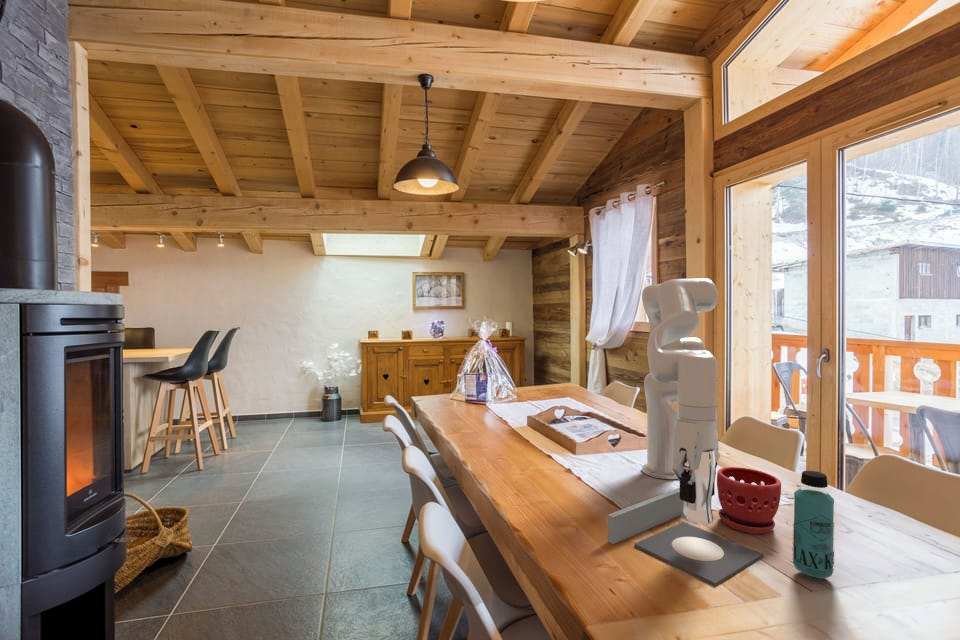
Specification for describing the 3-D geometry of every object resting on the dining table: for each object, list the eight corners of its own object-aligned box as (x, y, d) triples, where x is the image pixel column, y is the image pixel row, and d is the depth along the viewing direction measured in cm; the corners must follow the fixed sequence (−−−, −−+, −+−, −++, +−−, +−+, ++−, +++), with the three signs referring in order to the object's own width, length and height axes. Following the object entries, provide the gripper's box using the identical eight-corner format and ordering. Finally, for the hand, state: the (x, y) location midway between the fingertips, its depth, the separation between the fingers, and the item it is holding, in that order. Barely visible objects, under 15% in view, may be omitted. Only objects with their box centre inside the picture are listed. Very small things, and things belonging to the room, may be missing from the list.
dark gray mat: (683, 524, 112) (683, 521, 112) (763, 556, 97) (763, 553, 97) (634, 546, 102) (634, 543, 102) (715, 586, 87) (715, 582, 87)
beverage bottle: (784, 568, 93) (784, 467, 92) (816, 566, 94) (816, 466, 93) (810, 588, 86) (810, 479, 86) (844, 585, 87) (844, 478, 87)
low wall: (682, 510, 120) (682, 486, 120) (687, 512, 119) (687, 488, 119) (607, 541, 105) (607, 514, 104) (613, 544, 103) (613, 517, 103)
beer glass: (719, 527, 96) (719, 453, 95) (683, 524, 97) (683, 451, 97) (710, 512, 102) (710, 443, 102) (676, 510, 104) (676, 442, 103)
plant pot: (758, 543, 103) (758, 489, 102) (704, 520, 114) (704, 471, 114) (793, 530, 109) (793, 478, 109) (739, 509, 120) (739, 462, 120)
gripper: (703, 404, 107) (703, 483, 107) (655, 414, 97) (656, 501, 98) (736, 410, 101) (736, 493, 101) (689, 421, 91) (689, 514, 92)
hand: (697, 496), depth 100 cm, fingers closed on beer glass, 6 cm apart
